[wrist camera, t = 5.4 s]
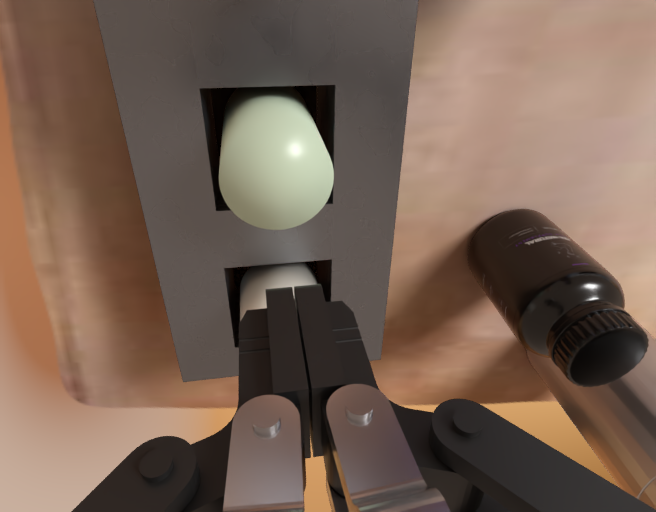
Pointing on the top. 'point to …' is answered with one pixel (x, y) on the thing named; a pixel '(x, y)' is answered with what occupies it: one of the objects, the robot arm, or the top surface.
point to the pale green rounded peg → (273, 158)
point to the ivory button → (271, 282)
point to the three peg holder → (203, 159)
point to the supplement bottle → (556, 297)
